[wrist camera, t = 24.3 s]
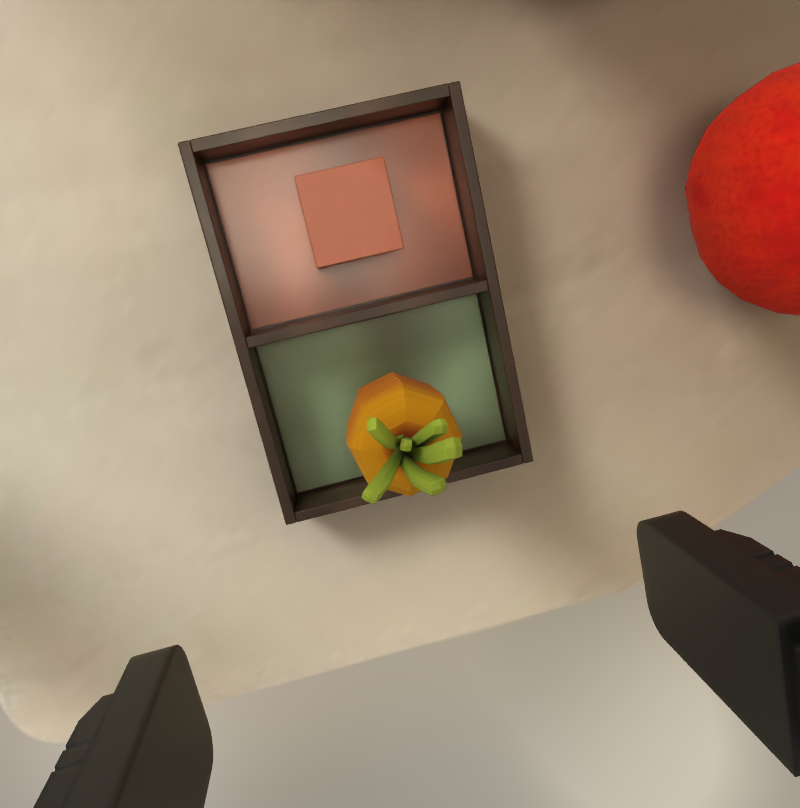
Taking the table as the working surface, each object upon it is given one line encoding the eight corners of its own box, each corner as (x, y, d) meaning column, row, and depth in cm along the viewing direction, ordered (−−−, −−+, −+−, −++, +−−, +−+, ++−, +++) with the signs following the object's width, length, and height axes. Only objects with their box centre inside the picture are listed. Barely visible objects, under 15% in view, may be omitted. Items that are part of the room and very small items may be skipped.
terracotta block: (317, 268, 37) (316, 268, 33) (296, 186, 36) (293, 176, 32) (395, 250, 37) (404, 248, 33) (377, 168, 36) (383, 155, 32)
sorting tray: (289, 503, 40) (286, 525, 36) (191, 155, 36) (177, 142, 32) (515, 444, 41) (533, 461, 37) (446, 98, 36) (460, 80, 33)
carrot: (344, 442, 39) (356, 546, 24) (337, 356, 38) (345, 410, 23) (429, 435, 39) (492, 532, 25) (425, 350, 38) (487, 399, 24)
